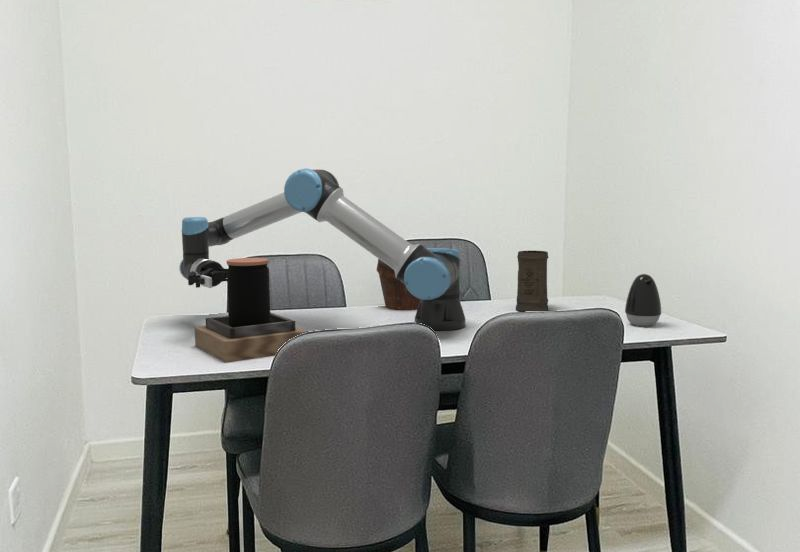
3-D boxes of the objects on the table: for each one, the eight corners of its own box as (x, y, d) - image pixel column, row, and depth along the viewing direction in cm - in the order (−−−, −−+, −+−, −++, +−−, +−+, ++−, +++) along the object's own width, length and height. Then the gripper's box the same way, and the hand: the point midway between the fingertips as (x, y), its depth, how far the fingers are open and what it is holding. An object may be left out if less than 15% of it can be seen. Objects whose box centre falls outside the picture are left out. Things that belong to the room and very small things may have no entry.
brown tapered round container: (442, 309, 252) (441, 255, 250) (384, 313, 247) (383, 258, 245) (425, 302, 269) (424, 251, 267) (370, 305, 264) (369, 254, 262)
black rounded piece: (632, 328, 219) (634, 276, 217) (619, 322, 229) (621, 272, 227) (666, 328, 219) (668, 276, 217) (652, 321, 229) (654, 271, 227)
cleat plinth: (272, 335, 212) (271, 309, 211) (308, 350, 193) (307, 321, 193) (195, 345, 200) (194, 317, 199) (225, 362, 181) (224, 331, 180)
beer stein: (548, 313, 243) (549, 251, 242) (514, 312, 245) (515, 251, 244) (548, 309, 258) (550, 250, 257) (516, 308, 260) (518, 249, 259)
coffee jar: (251, 323, 203) (248, 256, 201) (279, 327, 197) (277, 259, 195) (220, 330, 195) (217, 260, 193) (248, 334, 189) (246, 263, 186)
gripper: (248, 282, 227) (278, 290, 209) (165, 289, 213) (189, 298, 196) (247, 257, 226) (277, 263, 208) (163, 262, 212) (188, 270, 195)
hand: (235, 280), depth 202 cm, fingers open, 13 cm apart
